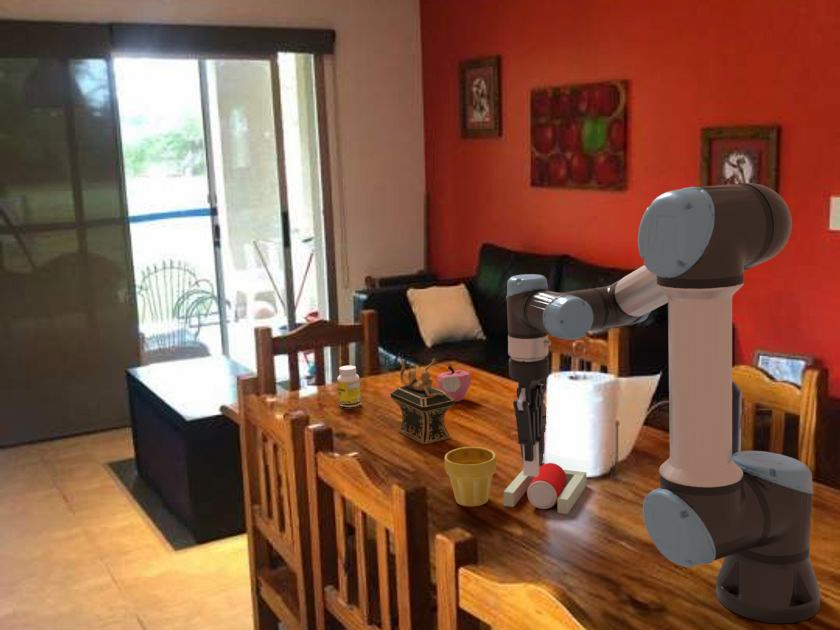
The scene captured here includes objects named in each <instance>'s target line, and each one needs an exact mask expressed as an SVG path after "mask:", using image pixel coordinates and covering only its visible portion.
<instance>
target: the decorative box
mask: <svg viewBox="0 0 840 630" xmlns="http://www.w3.org/2000/svg"><path fill="white" fill-rule="evenodd" d="M397 357H398V358H399V359H400V361H399V364H400V365H401V368H400V373H399V379H400V381H401V383H402V385H403V386H399V387H397V388H396V389H393V391H391V392H390V397H391V399H392V400H393V402H395V403H396V404H397V405H398V406H399V408H400V410H401V415H402V417H401V422H400V425H399V427H398V429H397V432H398V433H400V434H402V435H404V436H406V437H407V438H409V439H412V440H414V441H416V442H418V443H419V444H422V445H429V443H430V444H433V442H434V443H436V442H437V443H438V442H441V441H445V440H448V439H450V438H451V436H450V433H449V431H448V430H447V427H446V425H445V416H446V413H447V412H448V411H449V410H450V409H451V408H452V407H453V406H455V403H456V402H455V401H454V399H453V398H452V397H450V396H449V395H448V394H447V393H445V392H443V391H441V390H440V389H439V388H435V387H432V384H433V379H431V375H430V372H429V369H430V368H431V367H432V365H434V364H436V363H437V362H438V360H436V357H433V359H432V360H431V363H428V365H427V366H425V368H424V371H423V372H422V374H421V376H420V377H421V380H419V379H418V378H416V376H417V370H416V369H415V368H411V369H409V371H408V377H407V378H408V382H405V380H404V373H405V370H406V365H405V361H404V360H403V359H402V357H401V356H397Z"/></svg>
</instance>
